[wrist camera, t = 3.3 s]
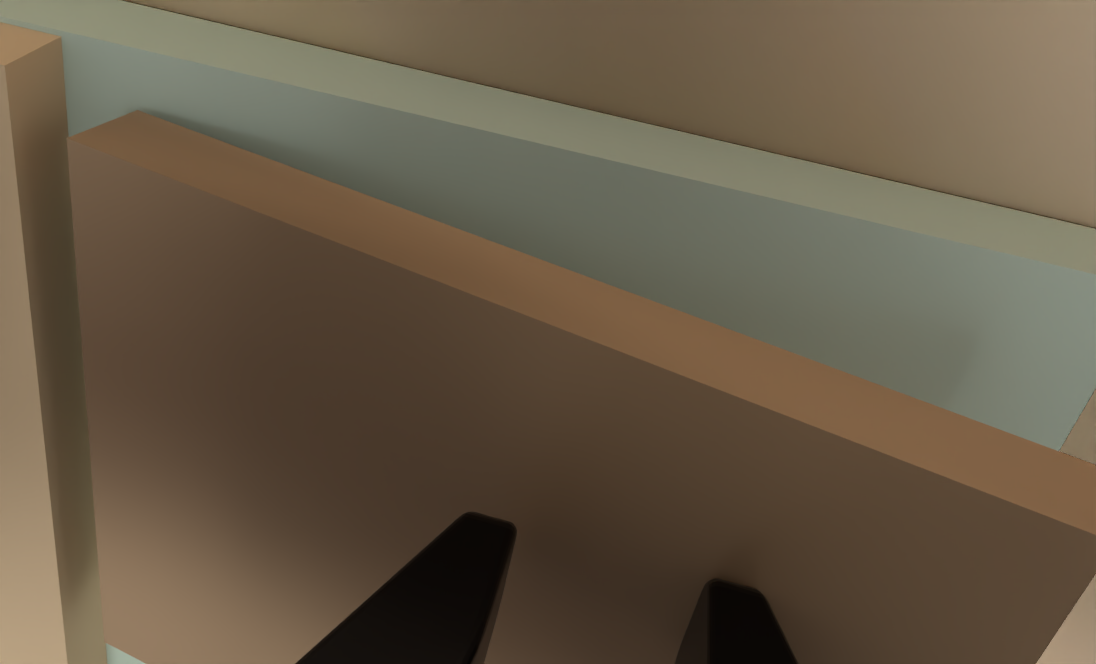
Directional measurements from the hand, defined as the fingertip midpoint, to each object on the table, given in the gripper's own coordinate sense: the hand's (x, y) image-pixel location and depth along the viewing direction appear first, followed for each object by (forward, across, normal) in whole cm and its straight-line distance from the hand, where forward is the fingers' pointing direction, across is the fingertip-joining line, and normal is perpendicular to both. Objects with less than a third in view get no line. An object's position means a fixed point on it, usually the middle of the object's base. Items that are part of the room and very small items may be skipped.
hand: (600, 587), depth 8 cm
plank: (+1, +1, +1) cm, 2 cm away
